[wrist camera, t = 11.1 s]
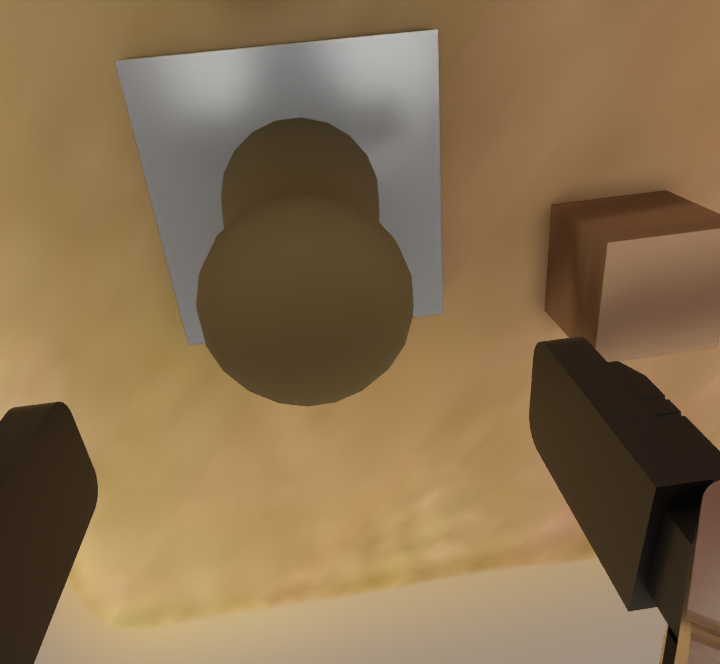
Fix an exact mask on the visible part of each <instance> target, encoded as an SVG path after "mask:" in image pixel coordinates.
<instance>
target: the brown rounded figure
mask: <svg viewBox="0 0 720 664" xmlns="http://www.w3.org/2000/svg"><path fill="white" fill-rule="evenodd" d="M221 204H222V215H223V226H224V229H223V230H222V231H221V232H220V233H219V234H218V235H217V236H216V238H215V240H214V242H213V245H212V247H211V249H210V251H209V253H208V255H207V257H206V259H205V261H204V263H203V265H202V268H201V270H200V273H199V277H198V288H197V299H196V309H197V313H198V317H199V321H200V324H201V328H202V332H203V336H204V339H205V343H206V346H207V348H208V349H209V351H210V352H211V354H212V355H213V356H214V358H215V359H216V361H217V362H218V364H219V365H220V367H221V368H222V370H223V371H224V372H225V373H227V374H228V375H229V376H230V377H232V378H233V379H234V380H236V381H237V382H238V383H239V384H241V385H242V386H243V387H245V388H246V389H247V390H249V391H251V392H253V393H255V394H257V395H260V396H262V397H265V398H267V399H270V400H273V401H275V402H278V403H282V404H291V405H300V406H313V405H320V404H326V403H333V402H337V401H339V400H342V399H344V398H346V397H349V396H351V395H353V394H355V393H358V392H360V391H362V390H363V389H365V388H366V387H367V386H368V385H370V384H371V383H372V382H373V381H374V380H376V379H377V378H378V377H379V376H381V375H382V374H383V373H384V372H385V371H387V370H388V369H389V367H390V366H391V364H392V363H393V362H394V360H395V359H396V357H397V356H398V354H399V353H400V351H401V350H402V348H403V347H404V345H405V342H406V339H407V335H408V331H409V328H410V324H411V320H412V317H413V309H414V302H413V287H412V275H411V273H410V271H409V269H408V266H407V264H406V262H405V259H404V257H403V255H402V253H401V250H400V248H399V246H398V244H397V242H396V240H395V239H394V238H393V236H392V235H391V234H390V233H389V232H388V231H387V230H386V229H385V228H384V227H383V226H382V225H381V224H380V217H379V194H378V183H377V177H376V174H375V172H374V170H373V168H372V165H371V163H370V161H369V158H368V156H367V154H366V153H365V152H364V151H363V150H362V149H361V148H360V146H359V145H358V144H357V143H356V142H355V141H354V140H353V138H352V137H351V136H350V135H348V134H346V133H345V132H343V131H341V130H339V129H338V128H336V127H334V126H332V125H331V124H329V123H327V122H322V121H317V120H312V119H308V118H303V117H300V118H292V119H284V120H276V121H274V122H272V123H270V124H268V125H266V126H264V127H262V128H260V129H258V130H256V131H254V132H252V133H251V134H250V135H249V136H248V137H247V138H246V139H245V140H244V141H243V142H242V143H241V144H240V145H239V146H238V147H237V148H236V149H235V150H234V152H233V154H232V156H231V159H230V161H229V163H228V165H227V167H226V169H225V172H224V174H223V184H222V193H221Z"/></svg>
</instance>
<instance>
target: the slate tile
mask: <svg viewBox="0 0 720 664" xmlns="http://www.w3.org/2000/svg"><path fill="white" fill-rule="evenodd" d="M115 64H116V68H117V71H118V75H119V79H120V83H121V87H122V91H123V95H124V98H125V102H126V106H127V110H128V114H129V118H130V122H131V125H132V129H133V133H134V137H135V141H136V145H137V149H138V152H139V156H140V160H141V164H142V168H143V172H144V176H145V179H146V183H147V187H148V191H149V195H150V199H151V202H152V206H153V210H154V214H155V218H156V222H157V226H158V229H159V233H160V237H161V241H162V245H163V249H164V253H165V256H166V260H167V264H168V268H169V272H170V276H171V280H172V283H173V287H174V291H175V295H176V299H177V303H178V307H179V310H180V314H181V318H182V322H183V326H184V330H185V334H186V337H187V341H188V345H194V344H202V343H205V339H204V336H203V332H202V328H201V324H200V321H199V317H198V313H197V309H196V299H197V288H198V277H199V273H200V270H201V268H202V265H203V263H204V261H205V259H206V257H207V255H208V253H209V251H210V249H211V247H212V245H213V242H214V240H215V238H216V236H217V235H218V234H219V233H220V232H221V231H222V230H223V229H224V226H223V215H222V204H221V193H222V184H223V174H224V172H225V169H226V167H227V165H228V163H229V161H230V159H231V156H232V154H233V152H234V150H235V149H236V148H237V147H238V146H239V145H240V144H241V143H242V142H243V141H244V140H245V139H246V138H247V137H248V136H249V135H250V134H251V133H252V132H254V131H256V130H258V129H260V128H262V127H264V126H266V125H268V124H270V123H272V122H274V121H276V120H284V119H292V118H300V117H303V118H308V119H312V120H317V121H322V122H327V123H329V124H331V125H332V126H334V127H336V128H338V129H339V130H341V131H343V132H345V133H346V134H348V135H350V136H351V137H352V138H353V140H354V141H355V142H356V143H357V144H358V145H359V146H360V148H361V149H362V150H363V151H364V152H365V153H366V154H367V156H368V158H369V161H370V163H371V165H372V168H373V170H374V172H375V174H376V177H377V183H378V194H379V217H380V224H381V225H382V226H383V227H384V228H385V229H386V230H387V231H388V232H389V233H390V234H391V235H392V236H393V238H394V239H395V240H396V242H397V244H398V246H399V248H400V250H401V253H402V255H403V257H404V259H405V262H406V264H407V266H408V269H409V271H410V273H411V275H412V287H413V302H414V309H413V317H420V316H428V315H436V314H443V282H442V227H441V173H440V119H439V64H438V29H428V30H418V31H408V32H398V33H387V34H377V35H367V36H357V37H347V38H336V39H326V40H316V41H306V42H295V43H285V44H275V45H265V46H255V47H244V48H234V49H224V50H214V51H204V52H193V53H183V54H173V55H163V56H152V57H142V58H132V59H122V60H117V61H115Z"/></svg>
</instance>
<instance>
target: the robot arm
mask: <svg viewBox="0 0 720 664" xmlns="http://www.w3.org/2000/svg"><path fill="white" fill-rule="evenodd" d="M529 421H530V429H531V434H532V438H533V441H534V444H535V446H536V449H537V451H538V452H539V454H540V456H541V458H542V460H543V461H544V463H545V465H546V467H547V468H548V470H549V472H550V474H551V475H552V477H553V479H554V481H555V483H556V484H557V486H558V488H559V490H560V491H561V493H562V495H563V497H564V498H565V500H566V502H567V504H568V505H569V507H570V509H571V511H572V513H573V514H574V516H575V518H576V520H577V521H578V523H579V525H580V527H581V528H582V530H583V532H584V534H585V536H586V537H587V539H588V541H589V543H590V544H591V546H592V548H593V550H594V551H595V553H596V555H597V557H598V558H599V560H600V562H601V564H602V565H603V567H604V569H605V571H606V573H607V574H608V576H609V578H610V580H611V581H612V583H613V585H614V586H615V588H616V590H617V592H618V594H619V595H620V597H621V599H622V601H623V603H624V604H625V606H626V608H627V610H628V611H634V610H640V609H647V608H653V607H658V609H659V610H660V612H661V614H662V615H663V617H664V618H665V620H666V622H667V627H666V630H665V634H664V638H663V644H662V651H661V657H660V663H659V664H720V451H719V450H718V449H717V448H716V447H715V446H714V445H713V444H712V443H711V442H710V441H709V440H708V439H707V438H706V437H705V436H704V435H703V434H702V433H701V432H700V431H699V430H698V429H697V428H696V427H695V426H694V425H693V424H692V423H691V422H690V421H689V420H688V419H687V418H686V417H685V416H681V411H680V410H679V409H678V408H677V407H676V406H675V405H674V404H673V403H672V402H671V401H670V400H669V399H667V400H666V399H665V395H664V394H663V393H662V392H661V391H660V390H659V389H658V388H657V387H656V386H655V385H654V384H653V383H652V382H651V381H650V380H649V379H648V378H647V377H646V376H645V375H643V374H641V373H639V372H637V371H635V370H634V369H632V368H630V367H628V366H626V365H624V364H622V363H621V362H619V361H613V362H607V361H606V360H605V359H604V358H603V357H602V356H601V355H600V353H599V352H598V351H597V350H596V349H595V348H594V347H593V346H592V345H591V344H590V342H589V341H588V340H587V339H585V338H584V337H574V338H567V339H559V340H551V341H543V342H539V343H537V345H536V347H535V350H534V356H533V369H532V383H531V397H530V410H529ZM97 495H98V485H97V477H96V473H95V470H94V467H93V465H92V463H91V460H90V458H89V455H88V453H87V450H86V448H85V445H84V443H83V440H82V438H81V435H80V433H79V430H78V428H77V426H76V423H75V421H74V418H73V416H72V413H71V411H70V409H69V408H68V407H67V405H66V404H64V403H62V402H54V403H46V404H38V405H30V406H22V407H14V408H12V409H10V410H9V411H8V412H7V413H6V414H5V415H4V417H3V418H2V420H1V421H0V664H34V662H35V659H36V656H37V654H38V652H39V649H40V646H41V644H42V641H43V639H44V636H45V634H46V631H47V629H48V626H49V624H50V621H51V619H52V616H53V614H54V611H55V608H56V606H57V603H58V601H59V598H60V596H61V593H62V591H63V588H64V586H65V583H66V581H67V578H68V576H69V573H70V571H71V568H72V566H73V563H74V561H75V558H76V556H77V553H78V550H79V548H80V545H81V543H82V540H83V538H84V535H85V533H86V530H87V528H88V525H89V523H90V520H91V518H92V515H93V513H94V510H95V507H96V503H97Z"/></svg>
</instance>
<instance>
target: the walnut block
mask: <svg viewBox="0 0 720 664" xmlns="http://www.w3.org/2000/svg"><path fill="white" fill-rule="evenodd" d="M545 311H546V312H547V313H548V314H549V315H550V317H551V318H552V319H553V320H554V321H555V322H556V323H557V324H558V326H559V327H560V328H561V329H562V330H563V331H564V332H565V333H566V335H567V336H568V337H569V338H574V337H584V338H585V339H587V340H588V341H589V342H590V344H591V345H592V346H593V347H594V348H595V349H596V350H597V351H598V352H599V353H600V355H601V356H602V357H603V358H604V359H605V360H606V361H607V362H613V361H625V360H632V359H639V358H647V357H654V356H661V355H669V354H676V353H683V352H690V351H698V350H705V349H712V348H717V346H718V342H719V337H720V214H718V213H716V212H714V211H712V210H709V209H707V208H705V207H703V206H700V205H698V204H696V203H693V202H691V201H689V200H687V199H684V198H682V197H680V196H677V195H675V194H673V193H671V192H668V191H658V192H650V193H641V194H633V195H625V196H617V197H609V198H601V199H593V200H584V201H576V202H568V203H560V204H552V209H551V224H550V239H549V254H548V269H547V284H546V299H545Z"/></svg>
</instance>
